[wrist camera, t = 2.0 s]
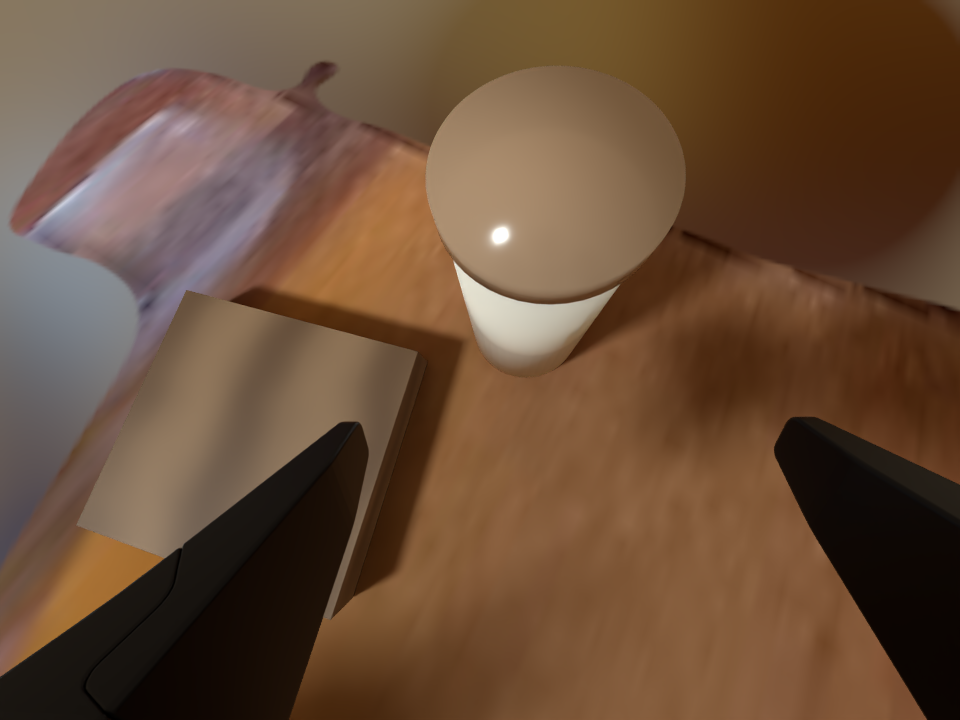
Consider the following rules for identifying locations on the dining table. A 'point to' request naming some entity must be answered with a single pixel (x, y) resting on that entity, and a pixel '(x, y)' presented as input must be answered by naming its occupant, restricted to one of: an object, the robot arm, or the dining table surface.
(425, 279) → the dining table surface
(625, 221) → the cream jar
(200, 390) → the beige rectangular box
